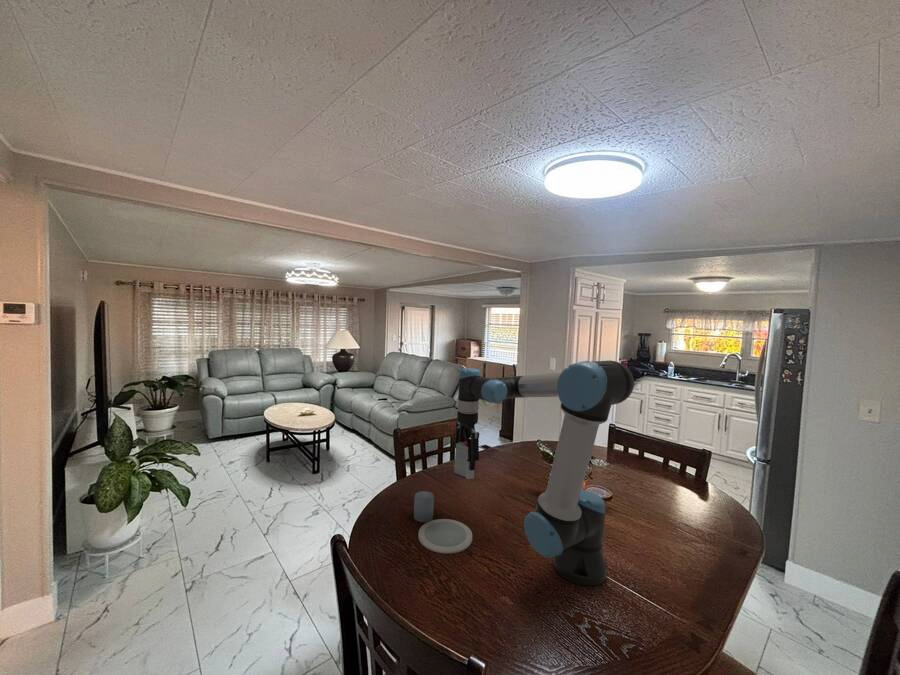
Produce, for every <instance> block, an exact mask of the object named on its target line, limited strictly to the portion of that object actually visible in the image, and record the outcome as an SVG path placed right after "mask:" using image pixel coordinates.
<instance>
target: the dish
mask: <svg viewBox="0 0 900 675" xmlns="http://www.w3.org/2000/svg"><path fill="white" fill-rule="evenodd" d="M417 535H418V536H417V537H418V541H419V543H420V544H421V545H422V546H423V548H426V549H427V550H429V551H431V552H435V553H439V554H450V555H451V554H456V553H460V552H463V551H466V549H467V548H469V547H470V546H471V544H472V542H473V533H472V530H471V529H470V528H469V526H467V525H466V524H464V523H463V522H460V521H458V520H455V519H449V518H440V519H439V518H438V519H432V520H431V521H429V522H424V524H422V525H421V526H420V528H419V530H418V534H417Z"/></svg>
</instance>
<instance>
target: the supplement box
mask: <svg viewBox="0 0 900 675" xmlns="http://www.w3.org/2000/svg"><path fill="white" fill-rule="evenodd" d="M454 454H455V455H454V466H453V468H454V469H453V475H455V476H457V477H460V478H462V479H464V480H465V479H466V473H467V460H469V459H468V447H467V442H466V441H462V442H459V443H456V448H455V452H454ZM476 465H477V461H475V469H474V476H475V475H476V468H477V467H476ZM466 480H467V479H466Z"/></svg>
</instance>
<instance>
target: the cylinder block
mask: <svg viewBox="0 0 900 675" xmlns="http://www.w3.org/2000/svg"><path fill="white" fill-rule="evenodd" d="M434 499H435V495H434V493H433V492H431V491H428V490H427V491H426V490H422V491H418V492H416V493H415V494H414V501H413V504H414V505H413V519H414V520H415V521H416V522H420V523H427V522H429V521H432V520H434V519H433V518H434V503H435V502H434Z"/></svg>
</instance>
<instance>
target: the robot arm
mask: <svg viewBox="0 0 900 675" xmlns="http://www.w3.org/2000/svg"><path fill="white" fill-rule="evenodd" d="M633 376H634V375H633V374H632V372H631V370H630V369H629V368H628V367H627V366H626V365H624V364H623V363H620V361H619V362H618V361H615V360H598V361H597V360H596V361H595V360H594V361H593V360H591V361H590V360H583V361H578V362H574V363H572V364H569V365H568V366H566V367H565V368H564V369H563V370H562V371H561V372H552V373H551V372H549V373H539V374H538V373H537V374H527V375H515V376H507V377H484V376H481V370H480V369H479V368H472V367H463V368H461V369H460V371H459V377H458V378H459V379H458V393H457V395H458V396H457V398H458V399H457V417H456V421H457V422H455V431H454V432H455V434H454V441H453V442H454V443H453V448H454V449H456V443H459V442H462V441H466V442H467V447H468V459H469V460H467V473H466V480H471V479H474V478H475V475H474V469H475V461H476V462H478V461H480V451H479V450H480V444H479V441H480V432H479V431H476V428H475V426H476V424H478V423H479V404H480V400H482V401H485V402H488V403H492V404H501V403H502V402H503V401H505V400H507V399H516V398H518V399H519V398H525V399H526V398H552V397H553V398H554V397H557V398H558V399H559V401H560V409H561V410H562V412H563V413H564V417H563V421H562V425H561V430H560V433H559V437H558V441H557V446H556V449H555V454H554V457H553V462H552V467H551V469H550V473H549V478H548V482H547V486H546V489H545V491H544V492H541V494H539V496H538V497H537V503H536V507H535V510H534V511H530V512H529V513H528V514H527V515H525V518H524V521H523V527H524V529H523V530H524V532H525V536H526V537H527V540H528V542H529V544H530V546H531V547H532V548H533V550H535V552H536V553H538V554H539V555H540V556H543V557H545V558H549V559H551V558H553V559H552V560H553V567H554V569H555V571H556V572H557V573H558V574H559V575H560V576H561V577H563V579H566V580H567V581H569V582H572V583H574V584H577V585H580V586H585V587H595V586H599V585H601V584H603V583H604V582H605V581H606V580H607V574H608V567H607V563H606V561H605V555H604V551H603V540H604V530H605V517H606V503H605V500H604V499H603V498H602V497H601V496H600V495H599V494H597V493H594V492H592V491H590V490H586V489H583V486H584V482H585V478H586V474H587V471H588V466H589V464H590V460H591V456H592V453H593V449H594V445H595V441H596V438H597V436H598V435H597V434H598V430H599V427H600V425H601V424H604V423H606V422H608V418H609V415H610V411H611V408H612V405H613V406H614V405H618V404H621V403H623V402H624V401H626V400H628V398H629V397H630V396H631V395H632V393H633V391H634V387H635V380H634V377H633ZM475 470H476V469H475Z"/></svg>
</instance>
